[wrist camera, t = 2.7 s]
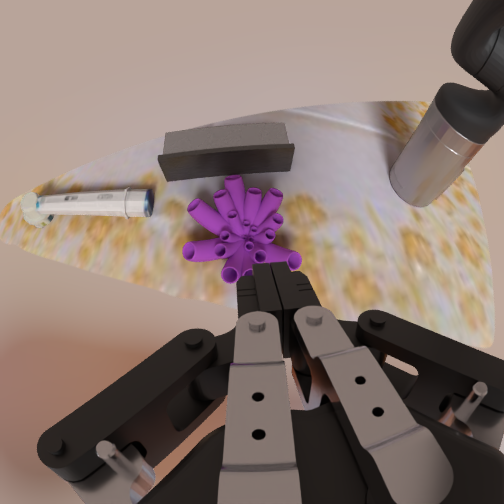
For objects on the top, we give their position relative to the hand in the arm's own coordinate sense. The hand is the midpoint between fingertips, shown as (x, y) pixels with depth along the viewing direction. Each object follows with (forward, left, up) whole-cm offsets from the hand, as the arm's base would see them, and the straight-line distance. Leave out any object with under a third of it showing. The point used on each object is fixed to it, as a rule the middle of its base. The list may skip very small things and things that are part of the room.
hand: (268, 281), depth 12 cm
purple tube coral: (+1, -12, -24) cm, 26 cm away
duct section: (+2, -26, -23) cm, 35 cm away
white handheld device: (+26, -19, -24) cm, 40 cm away
